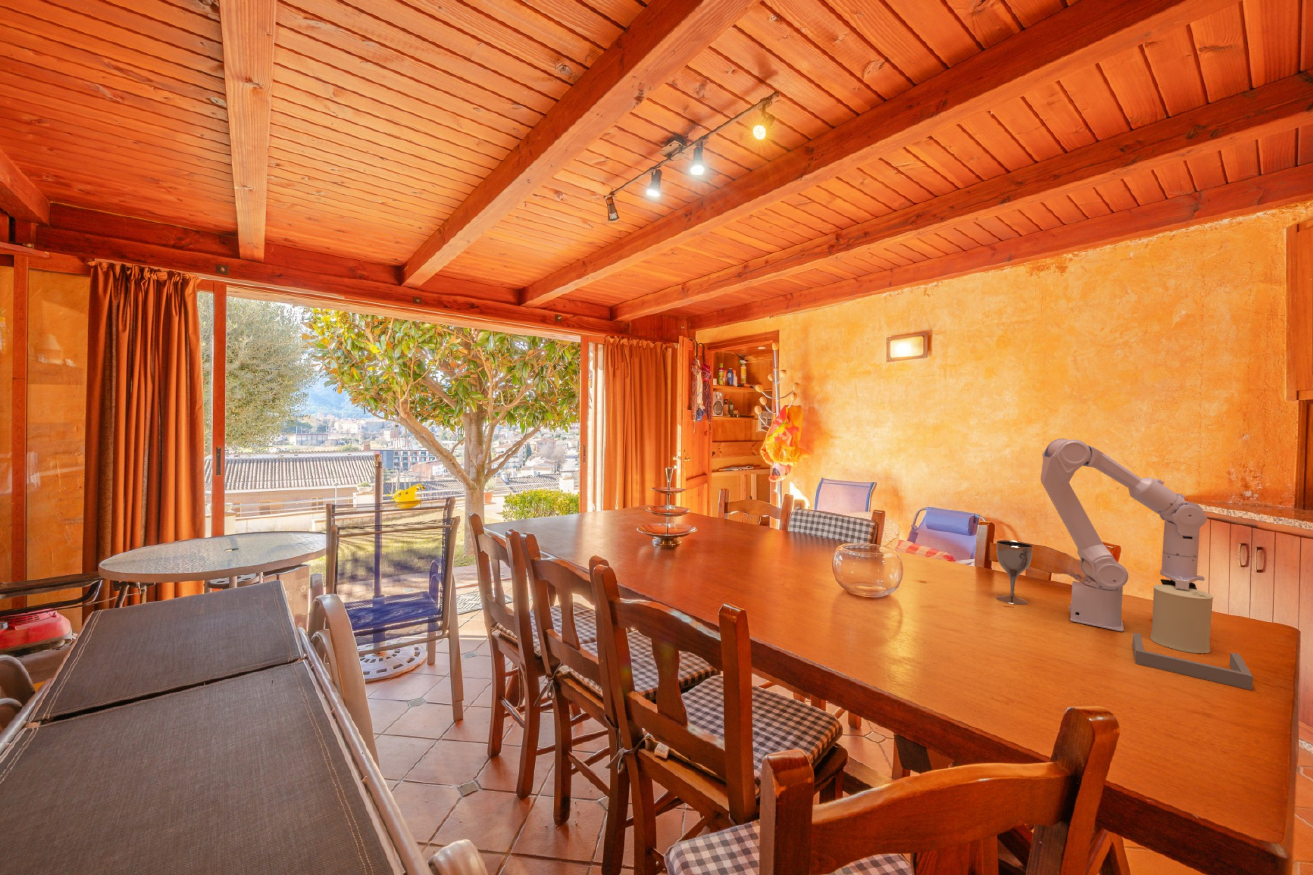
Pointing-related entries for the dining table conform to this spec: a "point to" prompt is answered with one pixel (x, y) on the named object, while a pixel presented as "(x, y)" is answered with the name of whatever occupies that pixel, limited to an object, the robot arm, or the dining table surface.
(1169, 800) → the dining table surface
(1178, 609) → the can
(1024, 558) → the wine glass
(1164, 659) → the holder
